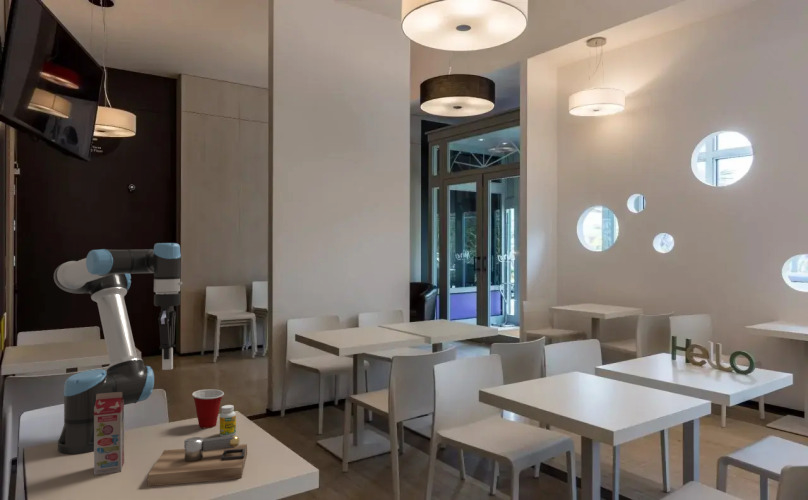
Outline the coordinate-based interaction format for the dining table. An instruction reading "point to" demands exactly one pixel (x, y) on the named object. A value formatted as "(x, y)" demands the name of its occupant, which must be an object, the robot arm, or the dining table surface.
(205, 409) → the plastic cup
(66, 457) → the dining table surface
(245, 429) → the dining table surface
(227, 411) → the supplement bottle
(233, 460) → the lever stand
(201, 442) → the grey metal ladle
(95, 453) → the juice carton
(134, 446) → the dining table surface
